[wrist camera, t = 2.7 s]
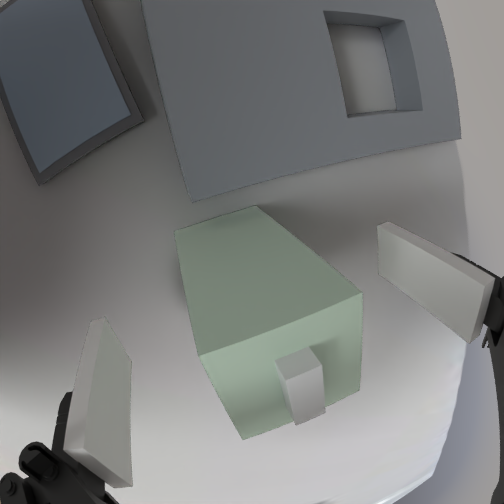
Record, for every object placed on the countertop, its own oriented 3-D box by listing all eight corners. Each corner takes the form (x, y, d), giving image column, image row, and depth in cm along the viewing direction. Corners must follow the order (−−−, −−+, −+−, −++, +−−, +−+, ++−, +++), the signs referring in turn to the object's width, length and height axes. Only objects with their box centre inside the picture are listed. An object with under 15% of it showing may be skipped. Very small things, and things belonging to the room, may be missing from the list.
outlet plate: (187, 192, 15) (192, 202, 12) (133, -41, 8) (131, -63, 6) (436, 134, 18) (461, 138, 16) (397, -34, 12) (418, -42, 9)
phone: (44, 183, 12) (38, 186, 11) (-13, 26, 7) (-20, 23, 6) (144, 120, 13) (143, 119, 12) (78, -34, 8) (74, -41, 7)
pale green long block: (199, 301, 17) (249, 458, 8) (173, 231, 15) (204, 379, 6) (271, 276, 18) (370, 404, 9) (255, 205, 16) (380, 307, 7)
